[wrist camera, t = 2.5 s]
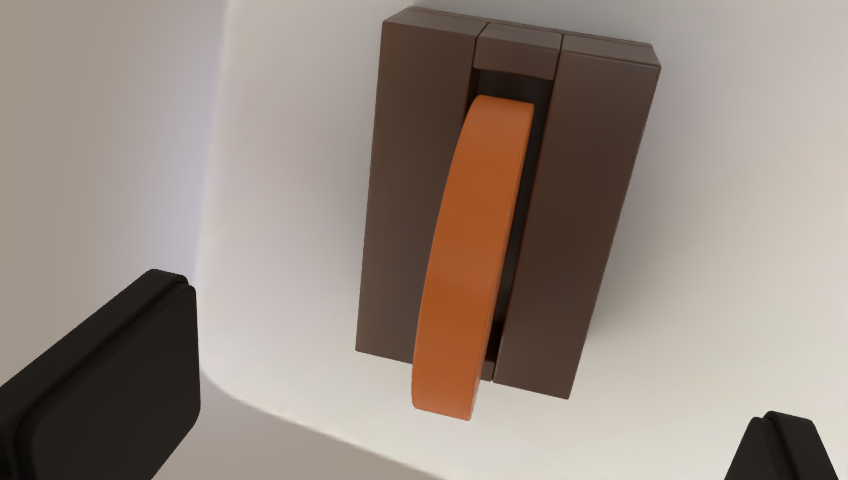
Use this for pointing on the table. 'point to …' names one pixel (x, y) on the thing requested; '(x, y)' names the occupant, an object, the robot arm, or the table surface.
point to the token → (469, 256)
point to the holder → (539, 191)
